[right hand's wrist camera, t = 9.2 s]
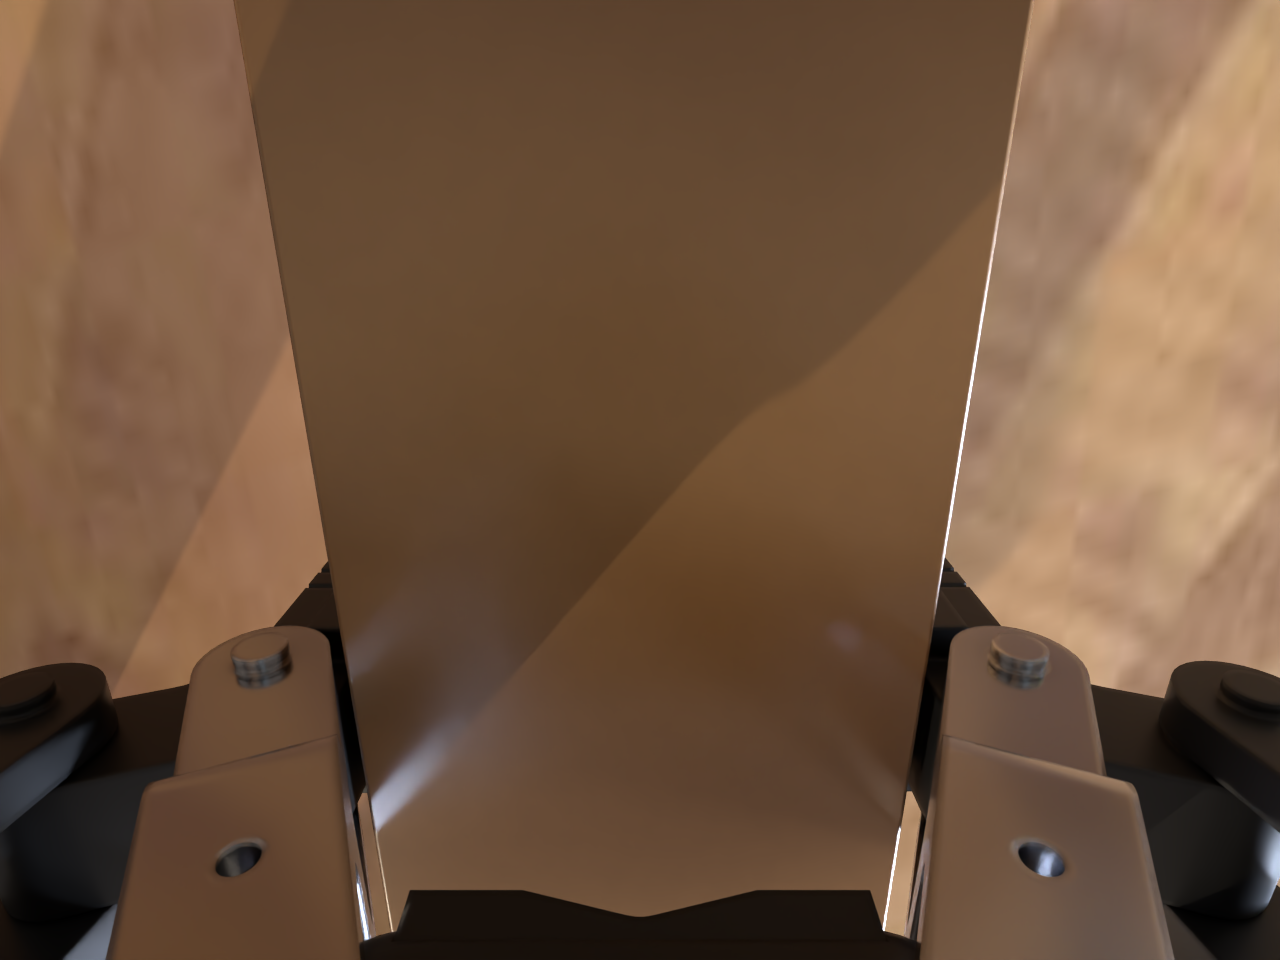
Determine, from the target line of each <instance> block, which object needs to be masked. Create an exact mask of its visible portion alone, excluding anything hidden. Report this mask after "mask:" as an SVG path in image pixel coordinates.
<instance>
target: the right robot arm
mask: <svg viewBox="0 0 1280 960" xmlns="http://www.w3.org/2000/svg"><path fill="white" fill-rule="evenodd" d="M907 791H912V792H913V794H914V797H915V799H916V801H917V803H918V806H919V808H920V810H921V815H920V821H919V826H918V832H917V840H916V848H915V855H914V863H913V870H912V878H911V886H910V893H909V901H908V908H907V916H906V924H905V931H904V936H901V935H897V934H893V933H890V932H886V931H883V928H882V925H881V922H880V919H879V915H878V912H877V909H876V906H875V903H874V900H873V897H872V894H871V891H870V890H755V891H751V892H747V893H743V894H739V895H734V896H730V897H726V898H722V899H718V900H714V901H710V902H706V903H701V904H697V905H693V906H689V907H685V908H681V909H677V910H673V911H668V912H664V913H660V914H656V915H651V916H645V917H635V916H629V915H624V914H620V913H616V912H612V911H607V910H603V909H599V908H595V907H591V906H587V905H583V904H579V903H574V902H570V901H566V900H562V899H558V898H554V897H550V896H546V895H541V894H537V893H533V892H529V891H525V890H410V891H409V894H408V897H407V900H406V903H405V906H404V909H403V912H402V915H401V919H400V922H399V925H398V928H397V931H394V932H390V933H387V934H383V935H379V936H376V931H375V923H374V916H373V908H372V901H371V893H370V885H369V878H368V870H367V863H366V855H365V847H364V840H363V832H362V826H361V820H360V815H359V809H358V801H359V799H360V797H361V794H362V793H367V788H366V782H365V776H364V770H363V764H362V758H361V752H360V746H359V740H358V734H357V728H356V723H355V717H354V711H353V705H352V699H351V693H350V687H349V681H348V675H347V669H346V663H345V657H344V651H343V645H342V640H341V634H340V628H339V622H338V616H337V610H336V604H335V598H334V592H333V586H332V580H331V574H330V568H329V562H327V563H326V564H325V565H324V567H323V568H322V572H321V573H318V574H317V575H316V576H315V577H314V579H313V580H312V581H311V582H310V583H309V588H305V590H304V591H303V592H302V593H301V594H300V596H299V597H298V598H297V599H296V600H295V602H294V603H293V604H292V605H291V606H290V608H289V609H288V610H287V611H286V612H285V614H284V615H283V616H282V617H281V619H280V620H279V621H278V622H277V623H276V625H275V626H274V627H269V628H263V629H259V630H255V631H251V632H248V633H245V634H242V635H239V636H237V637H234V638H232V639H230V640H228V641H226V642H224V643H222V644H220V645H218V646H217V647H215V648H213V649H212V650H210V651H209V652H208V653H207V654H205V655H204V656H203V657H202V658H201V659H200V660H199V661H198V662H197V664H196V665H195V667H194V668H193V671H192V674H191V678H190V684H187V685H184V686H179V687H175V688H170V689H165V690H159V691H154V692H149V693H143V694H138V695H133V696H127V697H122V698H117V699H112V696H111V693H110V690H109V687H108V683H107V680H106V677H105V675H104V673H103V672H102V671H101V670H100V669H99V668H97V667H94V666H92V665H88V664H82V663H59V664H52V665H45V666H41V667H36V668H32V669H28V670H24V671H21V672H18V673H15V674H12V675H9V676H6V677H3V678H1V679H0V960H1280V887H1279V886H1277V882H1278V880H1279V877H1280V678H1278V677H1276V676H1274V675H1271V674H1268V673H1265V672H1262V671H1259V670H1256V669H1253V668H1249V667H1245V666H1241V665H1236V664H1232V663H1225V662H1218V661H1194V662H1189V663H1185V664H1183V665H1180V666H1178V667H1177V668H1176V669H1175V670H1174V671H1173V673H1172V675H1171V678H1170V681H1169V685H1168V688H1167V691H1166V695H1165V698H1159V697H1154V696H1148V695H1143V694H1138V693H1132V692H1127V691H1122V690H1116V689H1111V688H1106V687H1101V686H1096V685H1092V684H1091V683H1090V678H1089V674H1088V671H1087V668H1086V667H1085V665H1084V664H1083V662H1082V661H1081V660H1080V659H1079V658H1078V657H1077V656H1076V655H1075V654H1073V653H1072V652H1071V651H1070V650H1068V649H1067V648H1065V647H1063V646H1062V645H1060V644H1058V643H1056V642H1054V641H1052V640H1050V639H1048V638H1046V637H1043V636H1041V635H1038V634H1035V633H1032V632H1029V631H1025V630H1021V629H1017V628H1011V627H1004V626H1001V625H1000V624H999V623H998V622H997V620H996V619H995V618H994V617H993V616H992V614H991V613H990V612H989V611H988V609H987V608H986V607H985V606H984V605H983V603H982V602H981V601H980V600H979V598H978V597H977V596H976V595H975V594H974V592H973V591H972V590H971V589H970V587H966V583H965V581H964V580H963V579H962V578H961V576H960V575H959V574H958V573H957V572H954V568H953V567H952V565H951V564H950V563H949V562H948V561H947V559H946V558H944V564H943V570H942V576H941V582H940V588H939V595H938V601H937V607H936V613H935V619H934V626H933V632H932V638H931V644H930V650H929V656H928V663H927V669H926V675H925V681H924V687H923V694H922V700H921V706H920V712H919V718H918V725H917V731H916V737H915V743H914V749H913V755H912V762H911V768H910V774H909V780H908V786H907Z"/></svg>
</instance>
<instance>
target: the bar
mask: <svg viewBox="0 0 1280 960" xmlns="http://www.w3.org/2000/svg"><path fill="white" fill-rule="evenodd" d="M1034 1H1035V0H234V5H235V11H236V17H237V23H238V29H239V35H240V41H241V47H242V53H243V59H244V64H245V70H246V76H247V82H248V88H249V94H250V100H251V106H252V112H253V118H254V124H255V130H256V136H257V142H258V147H259V153H260V159H261V165H262V171H263V177H264V183H265V189H266V195H267V201H268V207H269V213H270V219H271V225H272V230H273V236H274V242H275V248H276V254H277V260H278V266H279V272H280V278H281V284H282V290H283V296H284V302H285V308H286V313H287V319H288V325H289V331H290V337H291V343H292V349H293V355H294V361H295V367H296V373H297V379H298V385H299V391H300V396H301V402H302V408H303V414H304V420H305V426H306V432H307V438H308V444H309V450H310V456H311V462H312V468H313V474H314V479H315V485H316V491H317V497H318V503H319V509H320V515H321V521H322V527H323V533H324V539H325V545H326V551H327V557H328V562H329V568H330V574H331V580H332V586H333V592H334V598H335V604H336V610H337V616H338V622H339V628H340V634H341V640H342V645H343V651H344V657H345V663H346V669H347V675H348V681H349V687H350V693H351V699H352V705H353V711H354V717H355V723H356V728H357V734H358V740H359V746H360V752H361V758H362V764H363V770H364V776H365V782H366V788H367V794H368V800H369V806H370V811H371V817H372V823H373V829H374V835H375V841H376V847H377V853H378V859H379V865H380V871H381V877H382V883H383V889H384V894H385V900H386V906H387V912H388V918H389V924H390V930H391V932H394V931H397V928H398V925H399V922H400V919H401V915H402V912H403V909H404V906H405V903H406V900H407V897H408V894H409V891H410V890H525V891H529V892H533V893H537V894H541V895H546V896H550V897H554V898H558V899H562V900H566V901H570V902H574V903H579V904H583V905H587V906H591V907H595V908H599V909H603V910H607V911H612V912H616V913H620V914H624V915H629V916H635V917H645V916H651V915H656V914H660V913H664V912H668V911H673V910H677V909H681V908H685V907H689V906H693V905H697V904H701V903H706V902H710V901H714V900H718V899H722V898H726V897H730V896H734V895H739V894H743V893H747V892H751V891H755V890H870V891H871V894H872V897H873V900H874V903H875V906H876V909H877V912H878V915H879V919H880V922H881V925H882V928H883V931H884V929H885V922H886V916H887V910H888V904H889V898H890V891H891V885H892V879H893V873H894V867H895V861H896V854H897V848H898V842H899V836H900V830H901V823H902V817H903V811H904V805H905V799H906V793H907V786H908V780H909V774H910V768H911V762H912V755H913V749H914V743H915V737H916V731H917V725H918V718H919V712H920V706H921V700H922V694H923V687H924V681H925V675H926V669H927V663H928V656H929V650H930V644H931V638H932V632H933V626H934V619H935V613H936V607H937V601H938V595H939V588H940V582H941V576H942V570H943V564H944V558H945V551H946V545H947V539H948V533H949V527H950V520H951V514H952V508H953V502H954V496H955V490H956V483H957V477H958V471H959V465H960V459H961V452H962V446H963V440H964V434H965V428H966V421H967V415H968V409H969V403H970V397H971V391H972V384H973V378H974V372H975V366H976V360H977V353H978V347H979V341H980V335H981V329H982V323H983V316H984V310H985V304H986V298H987V292H988V285H989V279H990V273H991V267H992V261H993V255H994V248H995V242H996V236H997V230H998V224H999V217H1000V211H1001V205H1002V199H1003V193H1004V186H1005V180H1006V174H1007V168H1008V162H1009V156H1010V149H1011V143H1012V137H1013V131H1014V125H1015V118H1016V112H1017V106H1018V100H1019V94H1020V88H1021V81H1022V75H1023V69H1024V63H1025V57H1026V50H1027V44H1028V38H1029V32H1030V26H1031V20H1032V13H1033V7H1034Z"/></svg>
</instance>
